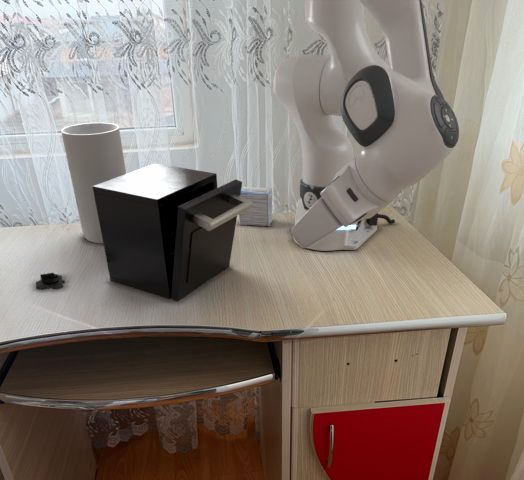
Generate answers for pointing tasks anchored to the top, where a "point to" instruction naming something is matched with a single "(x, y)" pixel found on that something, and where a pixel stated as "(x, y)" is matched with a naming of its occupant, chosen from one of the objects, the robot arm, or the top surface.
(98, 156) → the cylinder vase
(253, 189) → the medicine box
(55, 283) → the black irregular piece
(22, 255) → the top surface
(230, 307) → the top surface
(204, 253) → the oven door
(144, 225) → the oven
